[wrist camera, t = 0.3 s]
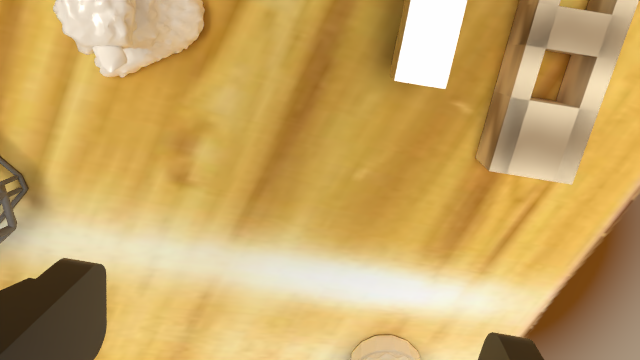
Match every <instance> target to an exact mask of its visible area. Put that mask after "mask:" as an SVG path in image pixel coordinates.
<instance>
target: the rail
mask: <svg viewBox="0 0 640 360" xmlns="http://www.w3.org/2000/svg"><path fill="white" fill-rule="evenodd" d="M560 1H561V0H520V1H519V4H518V8H517V11H516V15H515V18H514V22H513V26H512V29H511V33H510V36H509V40H508V43H507V47H506V51H505V54H504V58H503V61H502V65H501V68H500V72H499V76H498V79H497V83H496V86H495V90H494V93H493V97H492V100H491V104H490V108H489V111H488V115H487V118H486V122H485V125H484V129H483V133H482V136H481V140H480V143H479V147H478V150H477V154H476V159H477V160H478V161H479V162H480V163H481V164H482V165H483V166H484V167H486V168H487V169H488V170H489V171H493V172H499V173H505V174H511V175H517V176H523V177H529V178H535V179H541V180H547V181H553V182H560V183H566V184H572V183H573V181H574V178H575V175H576V172H577V170H578V167H579V164H580V161H581V159H582V156H583V153H584V150H585V148H586V145H587V142H588V139H589V136H590V134H591V131H592V128H593V125H594V123H595V120H596V117H597V114H598V112H599V109H600V106H601V103H602V101H603V98H604V95H605V92H606V90H607V87H608V84H609V81H610V79H611V76H612V73H613V70H614V68H615V65H616V62H617V59H618V56H619V54H620V51H621V48H622V45H623V43H624V40H625V37H626V34H627V32H628V29H629V26H630V23H631V21H632V18H633V15H634V12H635V10H636V7H637V4H638V1H639V0H589V2H588V5H587V8H586V10H580V9H573V8H567V7H561V6H559V4H560ZM545 50H546V51H552V52H558V53H564V54H570V55H571V57H570V60H569V63H568V66H567V69H566V72H565V75H564V78H563V81H562V84H561V87H560V90H559V93H558V96H557V99H556V101H553V100H547V99H541V98H534V97H531V95H532V92H533V88H534V85H535V82H536V79H537V75H538V72H539V69H540V66H541V62H542V59H543V56H544V53H545Z"/></svg>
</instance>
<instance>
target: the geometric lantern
mask: <svg viewBox="0 0 640 360" xmlns="http://www.w3.org/2000/svg"><path fill="white" fill-rule="evenodd" d="M0 164H2V165H3V166H4V167H5V168H6V169H8V170H9V171H10V172H11V173H12V174H14V175H15V176H13V177H10V178H8V179H5V180H3V181H0V205H1V204H2V206H3V209H4V212H3V213H2V214H1V216H0V223H1V222H2V220H3V219H4V218H5V217H6V219H7V222H8V226H6V227H4V228H2V229H0V243H1V242H2V241H4V240H5V239H6V238H7V237H8V236H9V235H10V234H11V233H12V232H13V231H14V230H15V229H16V227H17V225H16V224H17V221H16V218H15V215H14V212H13V209H12V208H13V207H14V206H15V205H16V204H17V202H18V201H19V200H20V199H21V198H22V196H23V195H24V194H25V193H26V191H27V190H28V188H27V185H26V183H25V181H24V179H23V177H22V175H21V174H20V173H18V172H17V171H16V170H15V169H14V168H12V167H11V166H10V165H9V164H8V163H6V162H5V161H4V160H3V159H2V158H0ZM17 179H18V180H19V182H20V184H21V187H22V189H21V188H17V189H15V190H12V191H10V192H8V193H7V191H6V188H5V184H8V183H10V182H13V181H15V180H17ZM19 192H20V193H19ZM17 193H19V194H18V195H17V196H16V197H15V199H14V200H13V201H12V202H11V203H10V200H9V197H10V196H12V195H15V194H17Z"/></svg>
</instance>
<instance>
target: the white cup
mask: <svg viewBox="0 0 640 360" xmlns="http://www.w3.org/2000/svg"><path fill="white" fill-rule="evenodd" d="M350 360H420V357H419V353H418V351H417V350H416V349H415V348H414V347H413V346H412V345H411V344H410V343H409V342H408V341H407V340H404V339H401V338H399V337H396V336H393V335H377V336H374V337H371V338H369V339H367V340H364V341H362V342H361V343H360V344H359V345H358V346H357V347H356V349H355V350H354V351H353V352H352V355H351V359H350Z"/></svg>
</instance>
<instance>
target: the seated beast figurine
mask: <svg viewBox="0 0 640 360" xmlns="http://www.w3.org/2000/svg"><path fill="white" fill-rule="evenodd" d="M53 11H54V12H55V14H56V16H57V18H58V19H59V20H60V21H61V23H62V25H63V27H62V30H63V33H64V34H66V35H68V36H70V37H71V38H73V39H74V41H75V42H76V44H77V48H78V51H79V52H81V53H84V54H86V55H90V54H92V53H94V54H95V55H96V58H95V59H94V61H95V65H96V66H97V67H99V68H100V73H101V74H102V75H103V76H106V77H115V76H120V77H125V76H126V75H127V74H129V73H135V72H137V71H138V70H140V69H141V67H146V66H148V65H150V64H151V63H154V62H155V61H157V62H158V61H159V60H160V59H162V58H166V57H168V56H170V55H172V54H174V53H180V52H182V50H183V49H187V48H188V46H189V45H191V44H192V43H193V41H195V40H197V38H198V36H199V34H200V32H201V31H202V30H203V27H204V21H203V14H204V12H205V9H204V7H203V1H202V0H56V1H55V5H54V6H53Z"/></svg>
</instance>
